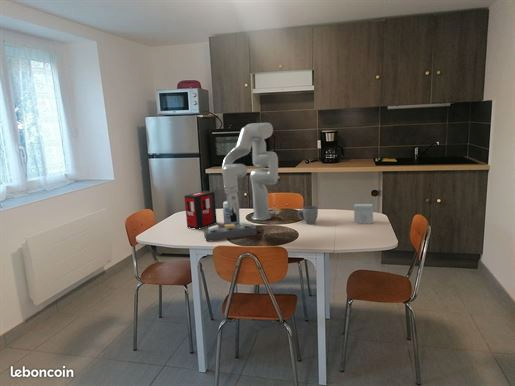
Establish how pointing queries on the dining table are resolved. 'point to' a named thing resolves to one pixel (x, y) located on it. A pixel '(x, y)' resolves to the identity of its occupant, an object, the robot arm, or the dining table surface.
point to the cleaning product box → (200, 209)
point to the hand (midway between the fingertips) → (233, 221)
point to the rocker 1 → (213, 228)
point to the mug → (309, 214)
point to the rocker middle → (229, 226)
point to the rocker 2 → (245, 224)
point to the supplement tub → (227, 215)
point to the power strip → (231, 232)
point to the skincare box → (363, 213)
